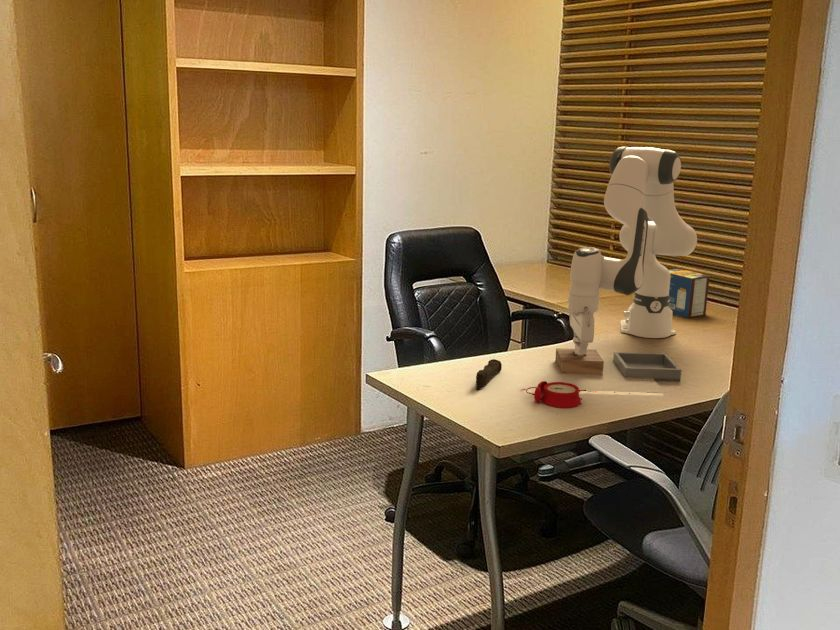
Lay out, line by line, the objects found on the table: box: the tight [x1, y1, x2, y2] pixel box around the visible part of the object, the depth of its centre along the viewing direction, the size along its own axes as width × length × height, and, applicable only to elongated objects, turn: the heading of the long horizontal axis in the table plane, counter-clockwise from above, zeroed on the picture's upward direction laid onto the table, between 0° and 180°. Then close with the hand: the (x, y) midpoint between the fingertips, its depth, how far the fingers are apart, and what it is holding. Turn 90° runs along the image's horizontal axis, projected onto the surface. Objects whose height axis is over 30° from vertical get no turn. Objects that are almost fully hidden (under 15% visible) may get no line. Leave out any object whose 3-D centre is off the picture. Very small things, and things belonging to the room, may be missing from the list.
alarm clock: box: [525, 380, 587, 409], centre depth 218 cm, size 10×6×15 cm
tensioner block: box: [555, 347, 605, 375], centre depth 244 cm, size 12×12×5 cm
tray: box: [612, 351, 683, 382], centre depth 244 cm, size 16×16×4 cm
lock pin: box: [572, 336, 585, 357], centre depth 244 cm, size 4×4×9 cm
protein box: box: [668, 268, 711, 319], centre depth 317 cm, size 10×15×16 cm
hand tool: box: [475, 358, 503, 391], centre depth 233 cm, size 19×4×5 cm, turn 158°
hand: (579, 349), depth 243 cm, fingers open, 8 cm apart
